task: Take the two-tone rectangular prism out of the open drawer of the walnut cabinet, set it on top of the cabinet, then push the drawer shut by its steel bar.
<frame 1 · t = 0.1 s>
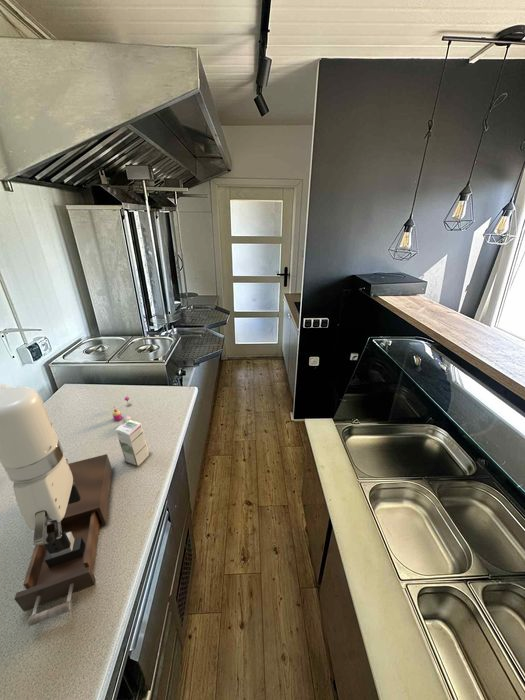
hand: (66, 523, 54), 23 cm above the countertop, tool pointing down, fingers open, 9 cm apart
cabinet: (82, 502, 83), on the countertop
drawer: (64, 559, 67), point 4 cm above the countertop, slide at 14.0 cm, touching two-tone rectangular prism
syrup box: (137, 458, 98), on the countertop
two-tone rectangular prism: (67, 555, 69), point 2 cm above the countertop, touching drawer
candy: (125, 418, 118), on the countertop
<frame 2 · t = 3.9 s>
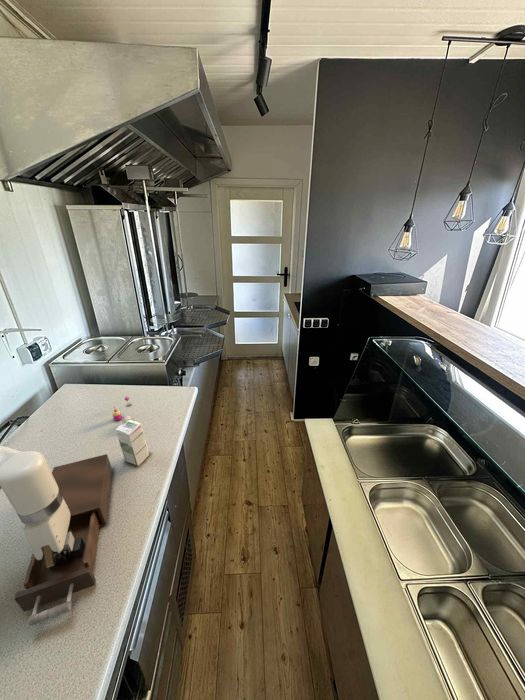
hand: (66, 554, 68), 3 cm above the countertop, tool pointing down, fingers closed on two-tone rectangular prism, 3 cm apart
two-tone rectangular prism: (67, 555, 69), point 2 cm above the countertop, touching drawer, gripper
everything else where it was.
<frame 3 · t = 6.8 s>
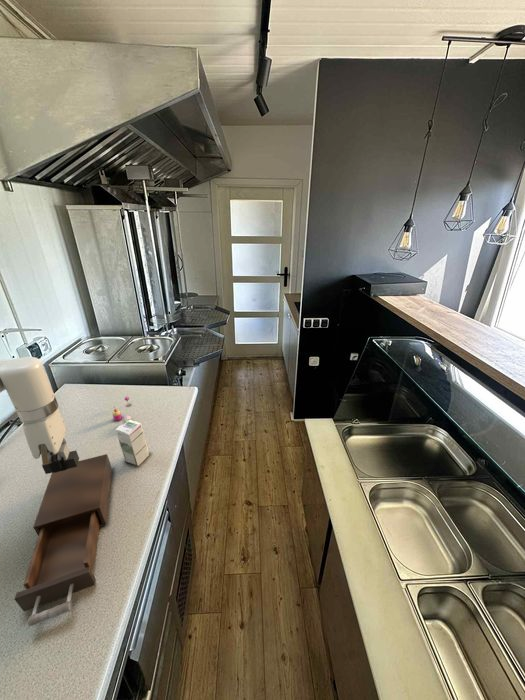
hand: (62, 464, 75), 17 cm above the countertop, tool pointing down, fingers closed on two-tone rectangular prism, 3 cm apart
drawer: (64, 559, 67), point 4 cm above the countertop, slide at 14.0 cm
two-tone rectangular prism: (63, 466, 75), point 16 cm above the countertop, touching gripper
everything else where it was.
when the fingers open (8 cm above the countertop, at t = 9.7 s): two-tone rectangular prism stays where it is, resting on cabinet.
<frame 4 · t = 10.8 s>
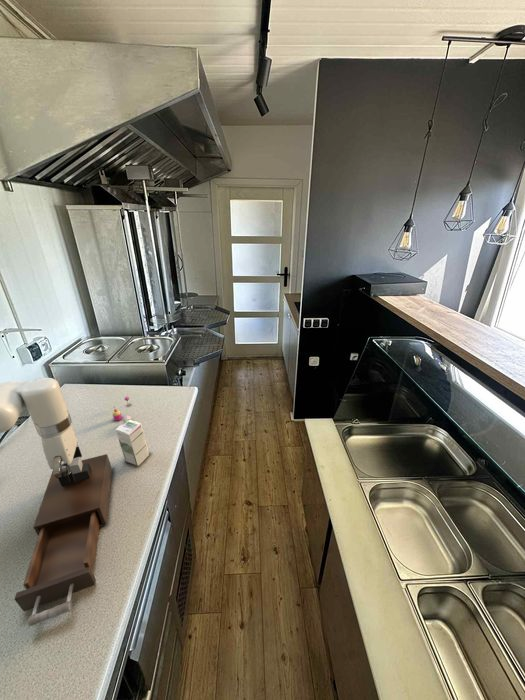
hand: (72, 470, 81), 10 cm above the countertop, tool pointing down, fingers open, 9 cm apart
two-tone rectangular prism: (77, 477, 83), point 7 cm above the countertop, touching cabinet
everything else where it was.
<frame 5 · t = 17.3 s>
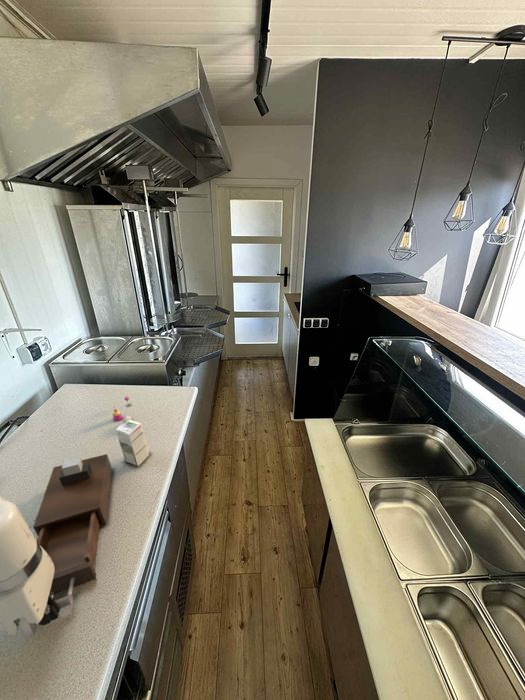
hand: (50, 617, 57), 4 cm above the countertop, tool pointing down, fingers closed
drawer: (65, 554, 68), point 4 cm above the countertop, slide at 12.8 cm
everything else where it was.
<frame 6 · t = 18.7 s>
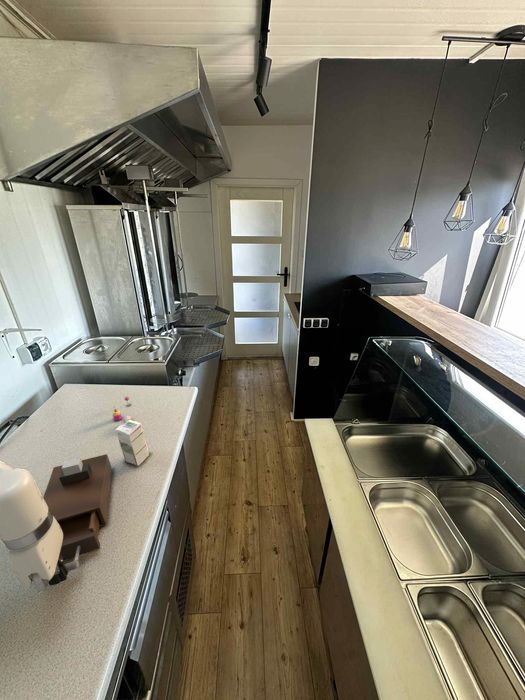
hand: (59, 578, 62), 4 cm above the countertop, tool pointing down, fingers closed
drawer: (71, 526, 74), point 4 cm above the countertop, slide at 5.7 cm, touching gripper
everything else where it was.
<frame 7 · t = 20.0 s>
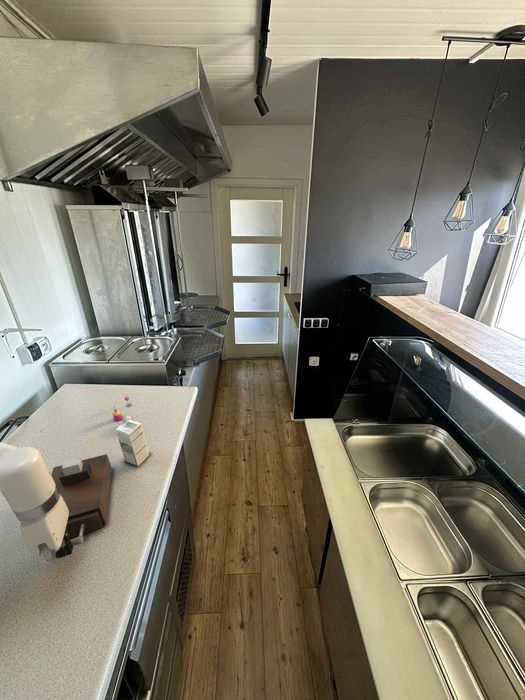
hand: (65, 552, 67), 4 cm above the countertop, tool pointing down, fingers closed
drawer: (75, 507, 78), point 4 cm above the countertop, slide at 0.0 cm, touching cabinet, gripper
everything else where it was.
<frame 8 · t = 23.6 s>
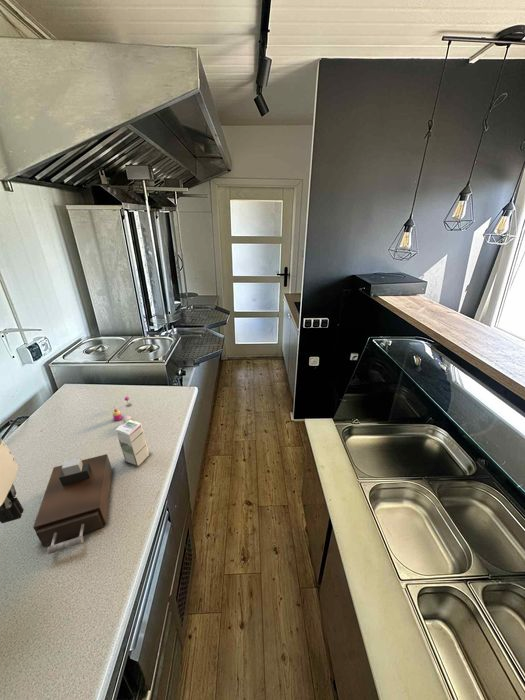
hand: (13, 516, 56), 23 cm above the countertop, tool pointing down, fingers closed
drawer: (75, 507, 78), point 4 cm above the countertop, slide at 0.0 cm
everything else where it was.
at the end: two-tone rectangular prism inside the target area (1.5 cm from its centre), point 7.1 cm above the countertop; two-tone rectangular prism tilted 0°; drawer slide at 0.0 cm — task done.
